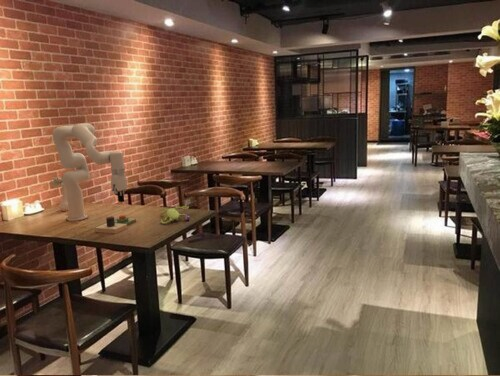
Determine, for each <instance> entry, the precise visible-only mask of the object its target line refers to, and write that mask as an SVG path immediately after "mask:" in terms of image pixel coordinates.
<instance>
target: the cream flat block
mask: <svg viewBox="0 0 500 376" xmlns="http://www.w3.org/2000/svg"><path fill="white" fill-rule="evenodd" d="M126 229H128V226H127V224H117V223H115V226H113V227H107V222H106V223H102V224H101V225H98V226H96V227H94V232H95V233H105V234H117V233H120V232H121V231H124V230H126Z"/></svg>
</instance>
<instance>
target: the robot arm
mask: <svg viewBox="0 0 500 376" xmlns="http://www.w3.org/2000/svg"><path fill="white" fill-rule="evenodd" d="M95 133H96V128H95V127H94V125H93V124H91V123H87V122H85V123H76V124H73V125H72V124H71V125H70V124H69V125H60V126H57V127H55V128H54V129H53V131H52V134H51V137H52V141H53V143H54V146H55V148H56V150H57V154H58V157H59V161H60V165H61V166H62V168H63V169H65V170H68V171H66V172H65V173H64V174H63V175H62V176H63V182H64V185H65V188H66V194H67V202H68V210H69V211H65V213H64V215H65V216H67V217H66V220H67V221H68V222H69V221H70V222H78V221H83V220H86V219H88V218H89V217H88V215H87V214H86V212H85V211H86V210H85V203H84V195H83V190H82V188H81V187H80V185H82V184H86V183H88V182H89V181H90V179H91V173H90V170H89V166H88V162H87V159H86V157H85V155H84V154H83V153H81V152H74V151H73V148H72V145H71V144H70V143H69V141H67V140H74V139H76V140H78V141H79V142H80V144H82V145H83V146H84V147H85V152H86V155H87V157H88V158H89V159H90V160H91V161H92V162H93V163H94V164H96V165H99V166H101V165H108V164H110V171H111V175H110V190H111V191H112V192H113V194H114V195H116V196H117V202H118V203H124V202H125V192H126V191H127V188H128V181H127V177H126V172H125V161H124V154H123V153H124V152H123V151H121V150H115V151H114V150H103V151H99V150H98V149H96V147H95V146H96V145H97V143H98V138H97V137H96V136H95ZM70 169H72V170H70Z"/></svg>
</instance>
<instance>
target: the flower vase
mask: <svg viewBox="0 0 500 376" xmlns="http://www.w3.org/2000/svg"><path fill="white" fill-rule="evenodd" d="M49 182H50V184H52V188H53V189H54V188H56V189H59V188H60V187H61V192H62V198H61V202H60V203H59V205H58V208H59V209H60V210H61V211H62V212H69V210H68V202H67V194H66V188H65V185H64V182H63V175H62V176H61V177H60V178H59V177H58V176H55V177H53V180H50V181H49Z"/></svg>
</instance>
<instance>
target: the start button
mask: <svg viewBox="0 0 500 376" xmlns="http://www.w3.org/2000/svg"><path fill="white" fill-rule="evenodd" d="M126 217H127V216H126V215H125V214H120V215H119V216H118V218H119V219H124V218H126Z"/></svg>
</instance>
